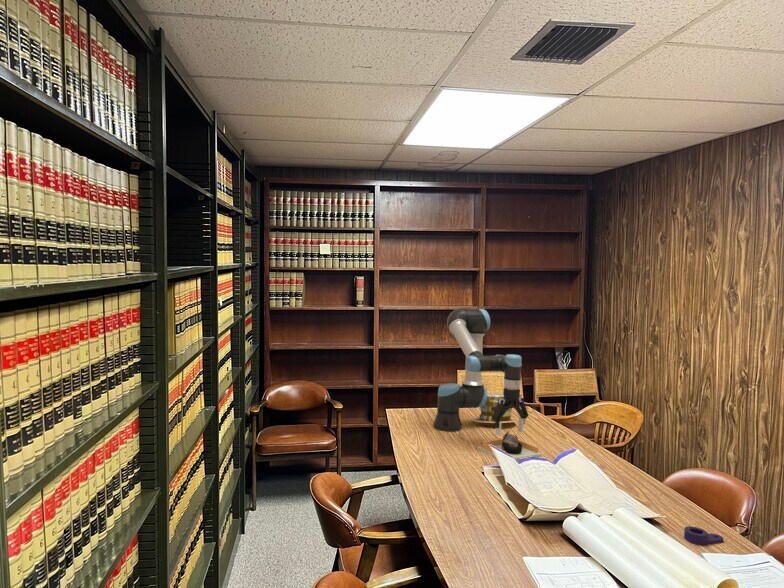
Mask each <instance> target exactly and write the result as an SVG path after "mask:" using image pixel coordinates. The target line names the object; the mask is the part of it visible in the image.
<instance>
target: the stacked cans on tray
mask: <svg viewBox="0 0 784 588" xmlns="http://www.w3.org/2000/svg"><path fill="white" fill-rule="evenodd" d="M498 399H502V400H504V395H503V394H501V393H499V394H495V393H494V394H489V393H487V401H486V403H485V405H484V406H483V407H479V408H480V414H479V417H478V418H477V417H476V418H473V419H471V421H472V422H476V423H489V424H492V426H494V427H495V420H493V419H492V416H493V413H494V411H495V409H496V406H497V404H498ZM505 407H506V406H505ZM512 411H513V408H511V409H508V410H507V411H506V412H505V414H504V416H503V417H502V419H501V420H500V421H501V424H504V423H514V422H517V420H516V419H514V418H512Z"/></svg>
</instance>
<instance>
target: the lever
mask: <svg viewBox="0 0 784 588" xmlns="http://www.w3.org/2000/svg"><path fill="white" fill-rule="evenodd" d="M683 538H684V540H685V541H686V542H689V543H691V544H693V545H697V546H708V545H715V544H720V543H723V542H724V537H723V536H721V535H720V534H717V533H709V532H708V531H706V530H705V529H703V528H699V527H697V526H689V525H688V526H685V527H684V535H683Z"/></svg>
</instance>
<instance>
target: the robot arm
mask: <svg viewBox="0 0 784 588" xmlns="http://www.w3.org/2000/svg"><path fill="white" fill-rule="evenodd" d="M446 319H447V320H446V325H447V329H448V330H449V333H450V334H452V335H453V336H454V338H455V339H456V342H457V343H458V345H459V346H460V348H461V350H462V353H463V354H464V355H465V363H464V364H465V365H464V366H465V372H464V374H465V375H464V380H463V381H462V382H461V385H460V383H456V382H454V383H453V382H451V383H450V382H449V383H444V384H441V385H440V386H439V387H438V389H437V390H438V391H437V411H436V415H435V419H434V421H433V428H434V429H436V430H438V431H442V432H443V431H444V432H458V431H461V430H462V429H463V427H462V426H463V424H462V421H461V417H460V409H477V408H480V407H483V406H484V405H485V403H486V401H487V394H488V391H487V387H486V386H484V382H483V381H482V373H486V372H487V373H488V372H494V373H497V372H501V373H503V374H504V377H503V387H504V388H503V393H502V395H504V400H502V399H498V404H497V406H496V409H495V411H494V413H493V416H492V419H493V420H495V423H494V427H495V435H497V436H501V435H502V423H501V421H500V420H501V419H502V417H503V416H504V414H505V412H506V411H507V410H508V409H511V408H512V409H515V411H516V413H518V415H519V417H518V423H517V424H518V425H517V431H518V432H520V433H522V434H523V433H524V425H525V421H526V419H528V417H529V415H530V414H529V413H528V410H527V406H526V403H525V398H524V397H522V396H521V379H522V365H523V363H522V360H523V359H522V356H521V355H520V354H513V353H512V354H506V355H504V354H496V355H483V339H484V338H483V337H484V336H485V335H486V333H487V331H489V329H490V327H491V316H490V314H489V312H488V311H487V310H485V309H483V308H464V307H463V308H456V309H454V310H453V311H451V312H450V313H449V315H448V316H447V318H446ZM505 406H506V407H505Z"/></svg>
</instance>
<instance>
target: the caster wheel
mask: <svg viewBox="0 0 784 588" xmlns="http://www.w3.org/2000/svg"><path fill="white" fill-rule="evenodd" d="M502 439H503V442H502V448H503V447H504V450H505V451H506V452H508V453H510V454H519V453H521V451H522V444H521V443H520V442H518V439H519V437H518V436H516V435H514V434H512V433H509V430H507V432H506V433H505V434H504V435H503V436H502Z"/></svg>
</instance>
